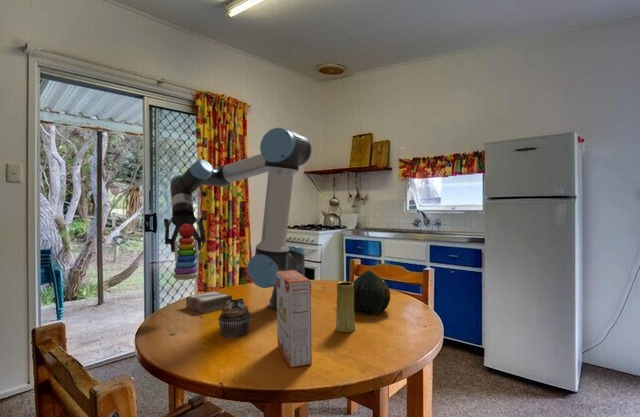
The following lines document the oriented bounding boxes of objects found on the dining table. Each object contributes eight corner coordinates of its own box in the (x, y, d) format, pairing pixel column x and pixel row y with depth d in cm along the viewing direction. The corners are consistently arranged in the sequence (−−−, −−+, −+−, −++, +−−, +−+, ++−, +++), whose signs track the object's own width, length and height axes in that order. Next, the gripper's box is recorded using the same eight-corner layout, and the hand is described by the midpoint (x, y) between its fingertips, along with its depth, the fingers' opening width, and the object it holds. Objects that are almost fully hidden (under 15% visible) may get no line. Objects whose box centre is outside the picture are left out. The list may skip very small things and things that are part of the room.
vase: (357, 327, 113) (357, 282, 113) (352, 333, 107) (352, 286, 107) (338, 325, 115) (338, 280, 115) (333, 331, 109) (333, 285, 109)
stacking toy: (190, 281, 118) (189, 224, 118) (168, 280, 120) (167, 224, 119) (202, 275, 126) (201, 223, 125) (181, 275, 127) (181, 222, 127)
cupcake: (216, 330, 111) (216, 298, 111) (247, 325, 115) (247, 294, 115) (220, 341, 102) (220, 306, 102) (254, 335, 106) (253, 302, 106)
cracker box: (275, 346, 98) (275, 270, 97) (297, 343, 100) (296, 269, 99) (288, 369, 85) (287, 281, 84) (312, 365, 86) (312, 279, 86)
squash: (366, 305, 118) (384, 267, 125) (335, 298, 129) (353, 263, 136) (387, 326, 125) (403, 289, 132) (356, 318, 136) (372, 284, 143)
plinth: (231, 306, 136) (231, 295, 136) (203, 313, 127) (203, 302, 127) (214, 300, 144) (214, 290, 144) (186, 307, 135) (186, 296, 135)
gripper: (207, 214, 141) (215, 262, 126) (155, 215, 133) (156, 266, 118) (209, 201, 136) (217, 249, 121) (154, 201, 128) (156, 253, 113)
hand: (187, 257), depth 120 cm, fingers closed on stacking toy, 6 cm apart
